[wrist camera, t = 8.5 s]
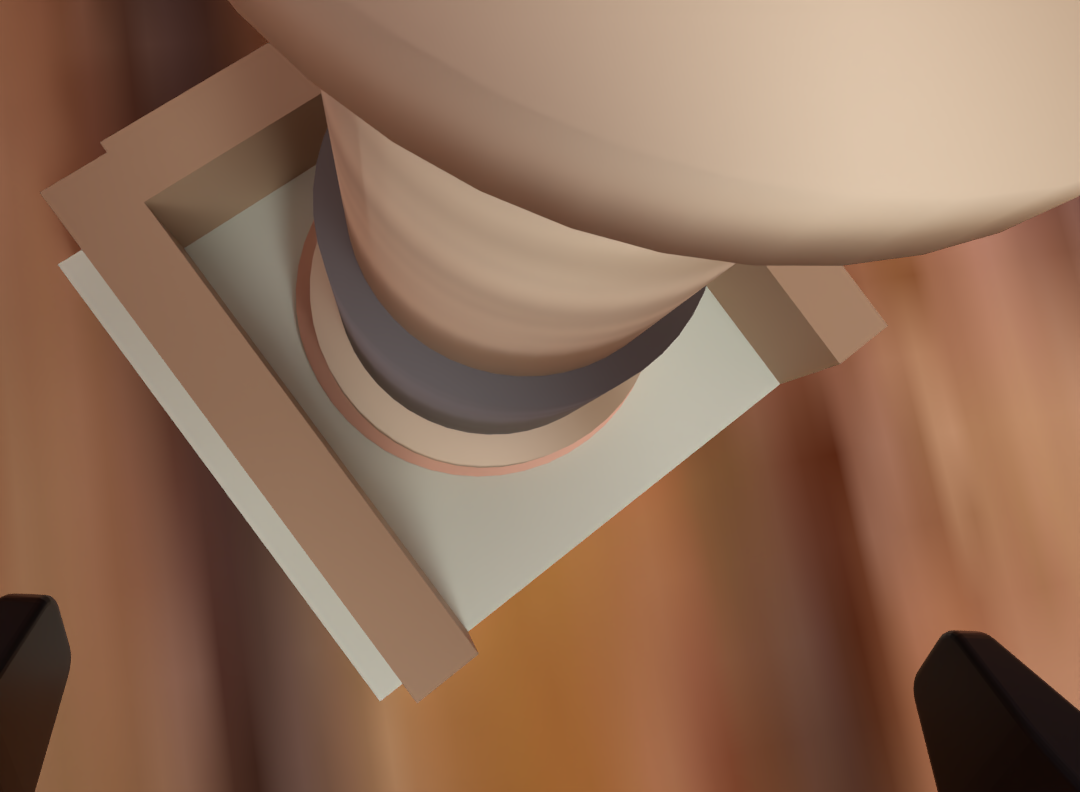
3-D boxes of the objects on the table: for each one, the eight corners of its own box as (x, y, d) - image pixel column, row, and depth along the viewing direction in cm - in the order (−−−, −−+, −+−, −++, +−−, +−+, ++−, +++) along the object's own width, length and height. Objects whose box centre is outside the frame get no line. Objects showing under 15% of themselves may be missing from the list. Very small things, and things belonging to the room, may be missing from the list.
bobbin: (508, 536, 16) (1038, 664, 3) (242, 319, 16) (-645, -743, 2) (704, 288, 17) (1733, -470, 4) (461, 84, 17) (675, -1468, 4)
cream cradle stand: (382, 684, 17) (374, 737, 13) (81, 277, 17) (-14, 209, 13) (816, 342, 20) (918, 300, 16) (548, -14, 20) (583, -144, 16)
